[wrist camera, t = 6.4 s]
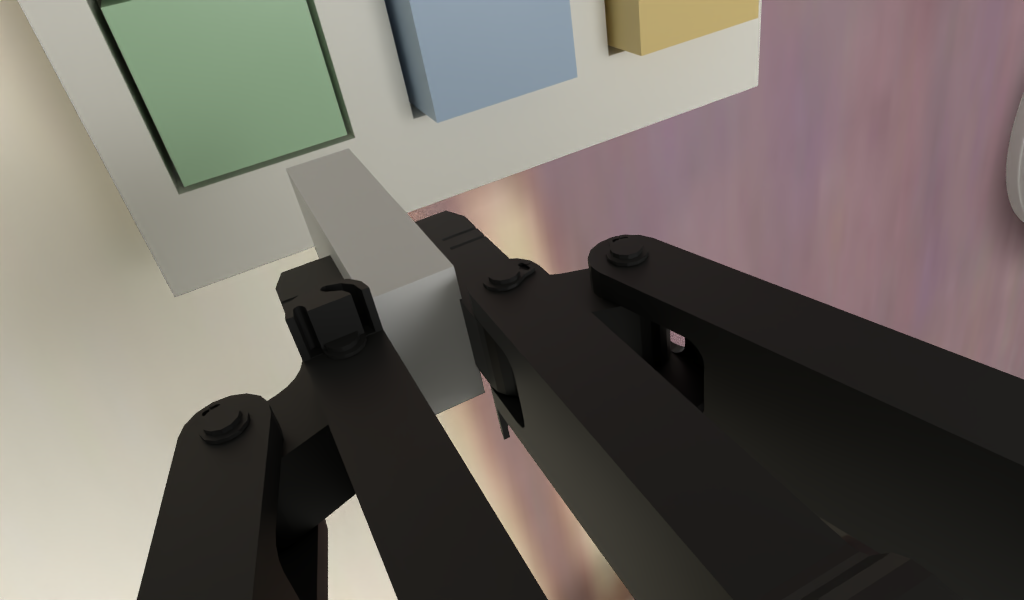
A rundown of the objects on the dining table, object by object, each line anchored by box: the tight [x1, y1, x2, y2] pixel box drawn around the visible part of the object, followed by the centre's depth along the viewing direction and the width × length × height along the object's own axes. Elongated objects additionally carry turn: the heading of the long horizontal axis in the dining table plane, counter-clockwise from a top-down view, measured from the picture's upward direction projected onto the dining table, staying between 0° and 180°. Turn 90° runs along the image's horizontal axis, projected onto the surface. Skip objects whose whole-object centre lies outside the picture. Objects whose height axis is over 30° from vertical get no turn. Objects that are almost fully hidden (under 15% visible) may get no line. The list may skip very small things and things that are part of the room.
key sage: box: [101, 0, 347, 187], centre depth 25 cm, size 6×6×4 cm
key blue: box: [384, 0, 577, 123], centre depth 27 cm, size 6×6×4 cm
